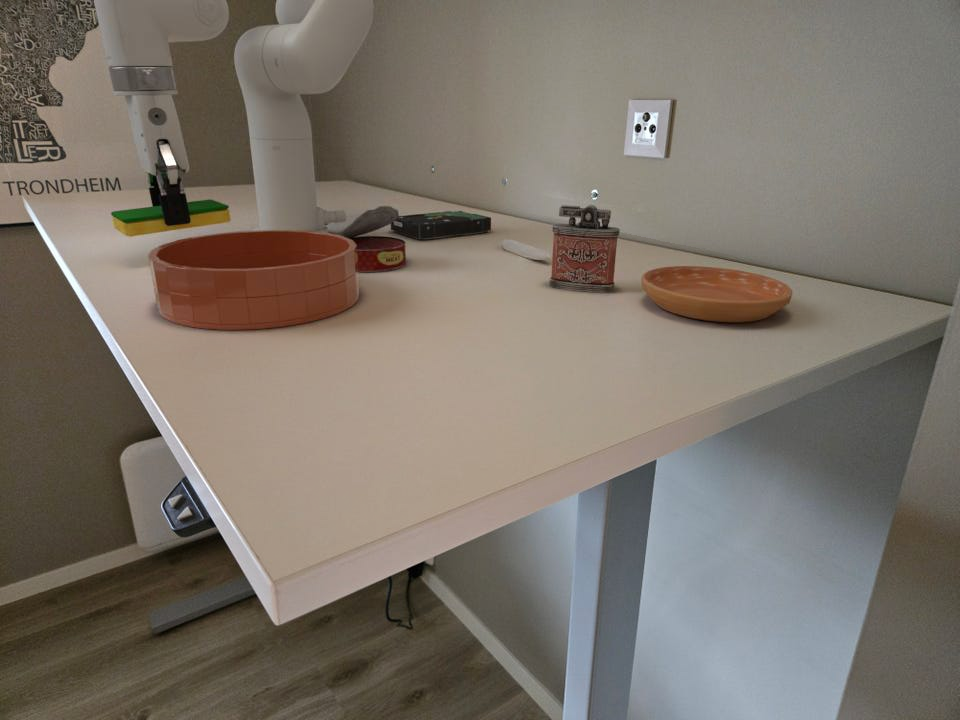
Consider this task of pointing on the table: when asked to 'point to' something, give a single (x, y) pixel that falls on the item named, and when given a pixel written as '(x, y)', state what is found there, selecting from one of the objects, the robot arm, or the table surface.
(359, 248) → the canned food
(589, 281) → the lighter
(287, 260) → the basin
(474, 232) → the disk drive
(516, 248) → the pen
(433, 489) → the table surface
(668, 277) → the saucer
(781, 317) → the table surface
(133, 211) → the dish sponge
